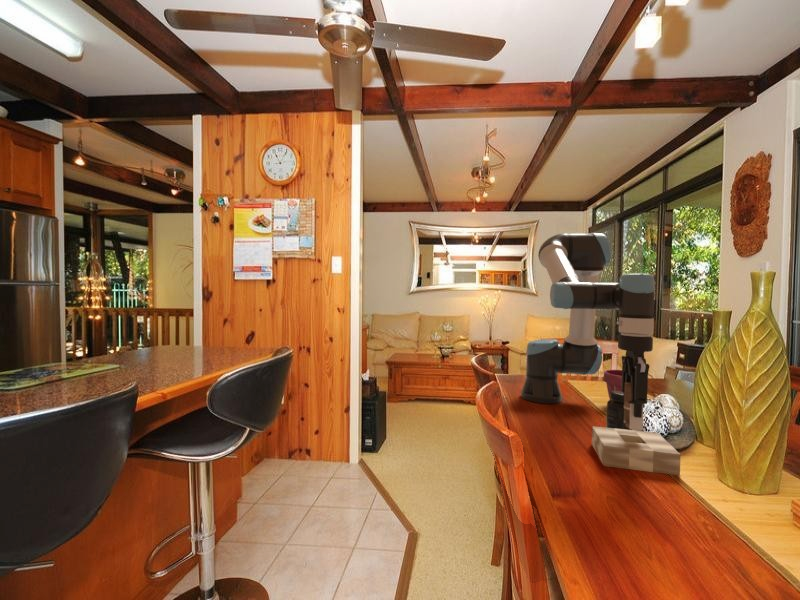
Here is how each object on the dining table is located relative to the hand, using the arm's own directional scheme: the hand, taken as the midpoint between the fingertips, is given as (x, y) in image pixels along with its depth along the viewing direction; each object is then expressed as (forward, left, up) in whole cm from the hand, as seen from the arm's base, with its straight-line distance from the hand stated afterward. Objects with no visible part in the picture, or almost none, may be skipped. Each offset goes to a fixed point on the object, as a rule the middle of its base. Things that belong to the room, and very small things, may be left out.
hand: (632, 425), depth 97 cm
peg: (0, 0, 0) cm, 0 cm away
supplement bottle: (-20, +2, -9) cm, 22 cm away
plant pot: (-49, +11, -9) cm, 51 cm away
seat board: (0, 0, -8) cm, 8 cm away
